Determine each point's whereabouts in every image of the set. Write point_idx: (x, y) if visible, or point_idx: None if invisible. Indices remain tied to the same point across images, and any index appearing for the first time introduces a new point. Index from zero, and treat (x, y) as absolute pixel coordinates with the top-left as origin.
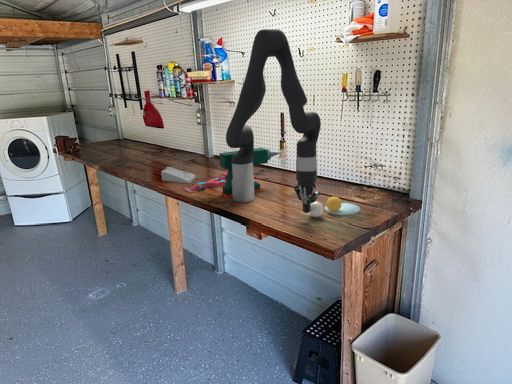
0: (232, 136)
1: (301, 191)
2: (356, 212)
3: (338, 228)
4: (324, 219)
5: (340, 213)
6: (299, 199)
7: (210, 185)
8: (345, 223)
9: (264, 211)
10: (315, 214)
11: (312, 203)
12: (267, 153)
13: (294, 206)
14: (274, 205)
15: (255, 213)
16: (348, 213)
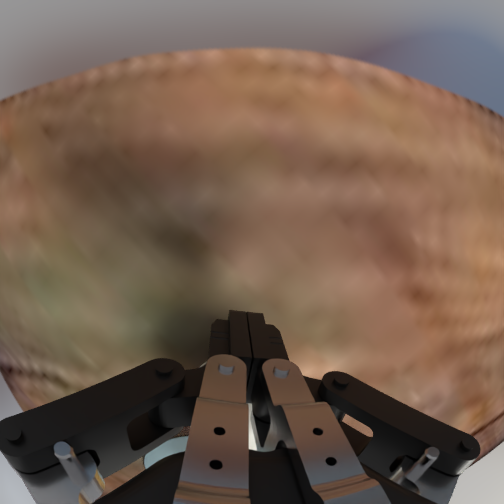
0: None
1: (319, 469)
2: (146, 468)
3: (38, 314)
4: None
5: (174, 446)
6: (339, 376)
7: None
8: (71, 379)
9: (485, 228)
10: (203, 363)
11: (250, 422)
12: None
13: (411, 376)
14: (480, 315)
15: (495, 180)
16: (153, 455)
